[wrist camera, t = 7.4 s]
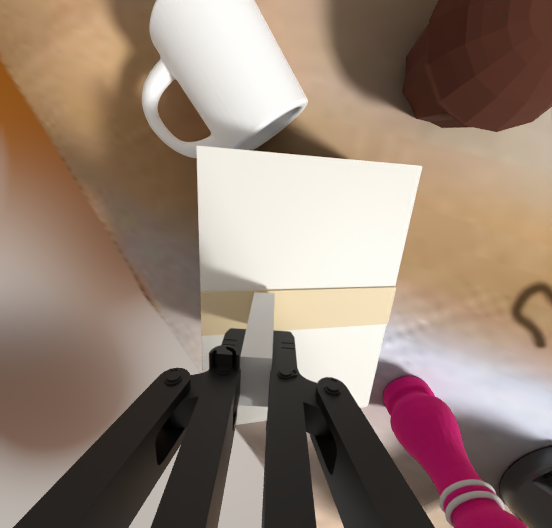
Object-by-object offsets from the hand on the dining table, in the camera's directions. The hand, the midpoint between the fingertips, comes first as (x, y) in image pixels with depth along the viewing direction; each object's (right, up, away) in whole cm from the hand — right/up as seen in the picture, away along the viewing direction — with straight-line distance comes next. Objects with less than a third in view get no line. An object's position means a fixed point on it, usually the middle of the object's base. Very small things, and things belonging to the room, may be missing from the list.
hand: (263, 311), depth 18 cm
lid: (+3, 0, +2) cm, 3 cm away
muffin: (+17, +21, +7) cm, 28 cm away
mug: (-4, +19, +8) cm, 20 cm away
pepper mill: (+19, -15, +18) cm, 30 cm away
